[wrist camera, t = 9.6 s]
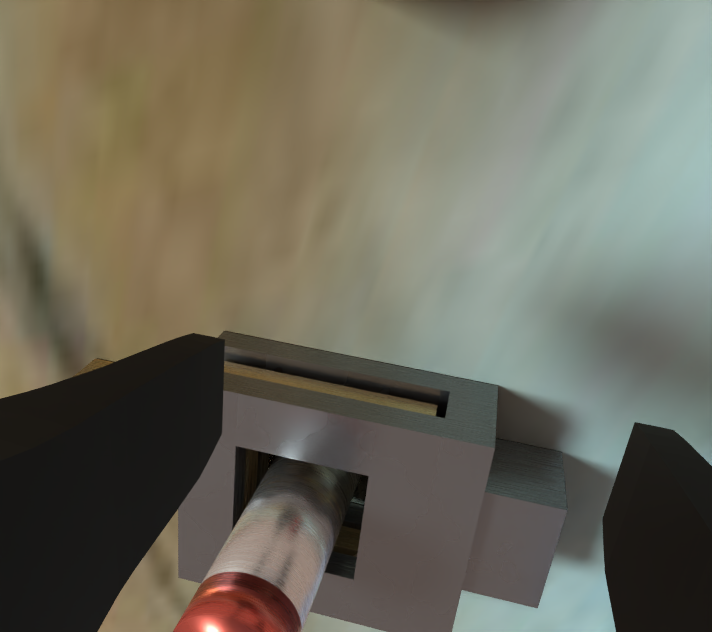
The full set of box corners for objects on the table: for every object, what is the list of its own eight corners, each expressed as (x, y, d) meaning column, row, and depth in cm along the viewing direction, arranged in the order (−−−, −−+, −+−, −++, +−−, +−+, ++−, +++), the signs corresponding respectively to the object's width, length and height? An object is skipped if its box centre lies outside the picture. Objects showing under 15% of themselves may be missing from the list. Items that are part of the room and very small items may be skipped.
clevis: (576, 401, 22) (586, 467, 19) (523, 584, 25) (524, 667, 22) (92, 304, 24) (28, 348, 21) (103, 482, 28) (49, 543, 25)
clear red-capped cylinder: (380, 470, 25) (306, 690, 17) (316, 499, 26) (218, 717, 18) (333, 406, 24) (231, 602, 16) (270, 438, 25) (146, 636, 17)
